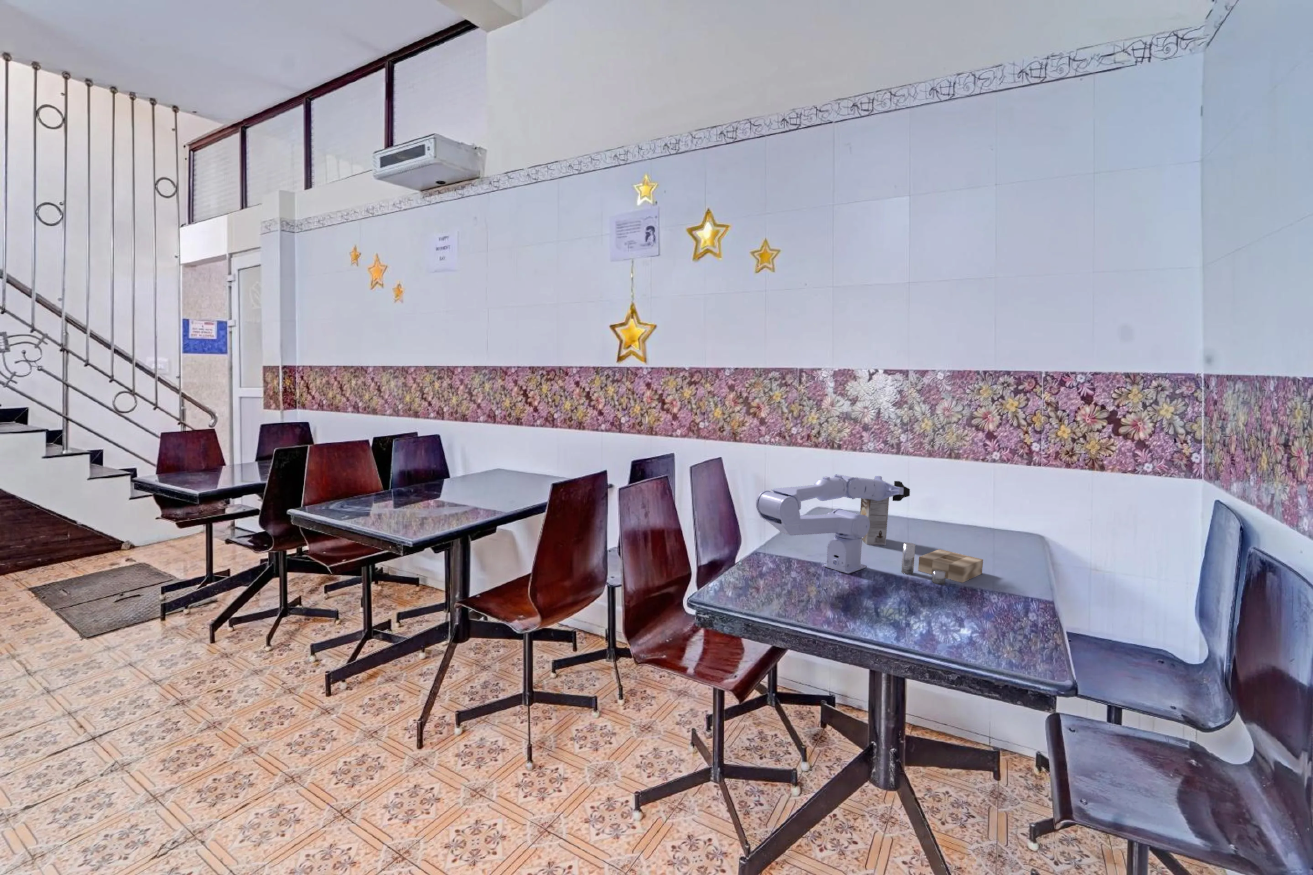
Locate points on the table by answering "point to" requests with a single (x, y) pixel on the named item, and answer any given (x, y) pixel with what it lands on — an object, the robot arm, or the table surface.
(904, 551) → the long pin
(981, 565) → the socket block
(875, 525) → the coffee box
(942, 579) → the short stub
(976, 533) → the table surface
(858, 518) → the robot arm
